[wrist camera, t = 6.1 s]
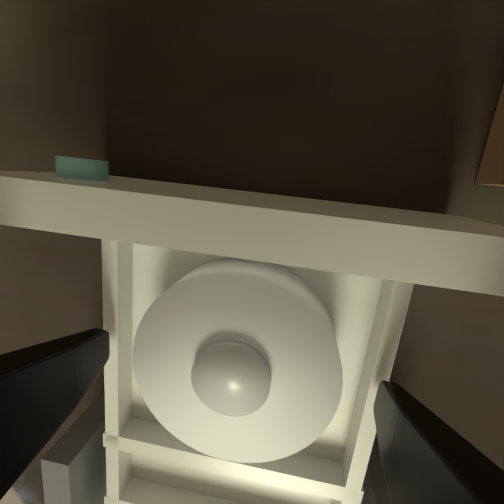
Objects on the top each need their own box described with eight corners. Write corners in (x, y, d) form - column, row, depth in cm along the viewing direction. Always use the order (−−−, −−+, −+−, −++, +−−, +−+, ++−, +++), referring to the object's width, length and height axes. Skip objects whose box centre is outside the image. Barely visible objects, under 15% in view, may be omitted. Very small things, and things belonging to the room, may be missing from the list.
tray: (460, 199, 9) (631, 219, 5) (374, 510, 13) (421, 713, 8) (96, 159, 11) (-64, 142, 6) (103, 448, 14) (2, 587, 9)
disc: (351, 270, 9) (365, 296, 7) (319, 433, 10) (323, 493, 8) (163, 243, 10) (127, 260, 8) (157, 398, 11) (126, 446, 9)
